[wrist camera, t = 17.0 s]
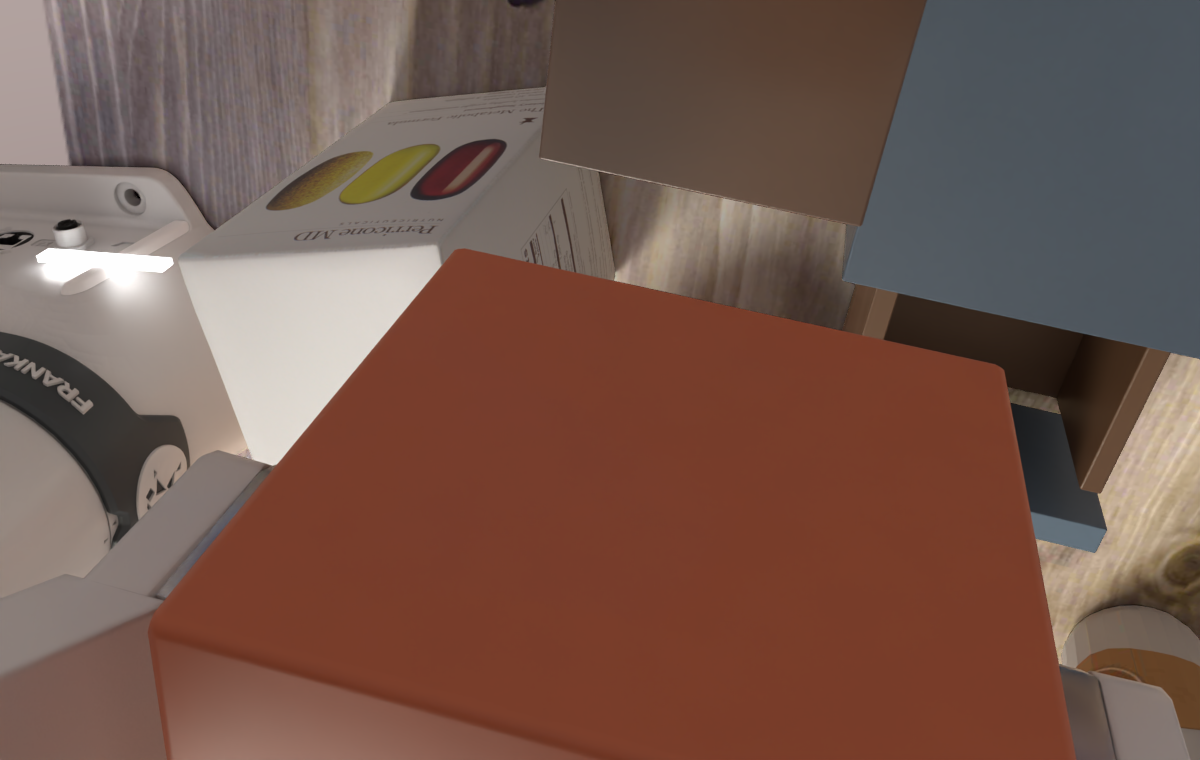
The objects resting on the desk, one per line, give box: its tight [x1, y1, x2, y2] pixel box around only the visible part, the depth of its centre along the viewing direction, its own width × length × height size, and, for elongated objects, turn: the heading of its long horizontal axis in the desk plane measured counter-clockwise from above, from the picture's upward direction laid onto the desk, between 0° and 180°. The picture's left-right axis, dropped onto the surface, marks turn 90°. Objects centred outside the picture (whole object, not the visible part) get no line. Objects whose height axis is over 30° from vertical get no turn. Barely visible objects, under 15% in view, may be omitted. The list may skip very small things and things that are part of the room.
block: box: [148, 248, 1076, 760], centre depth 8 cm, size 4×4×4 cm
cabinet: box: [842, 0, 1200, 359], centre depth 35 cm, size 15×13×10 cm
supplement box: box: [178, 87, 615, 466], centre depth 41 cm, size 10×9×17 cm
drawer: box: [842, 284, 1170, 553], centre depth 42 cm, size 18×11×8 cm, turn 172°
